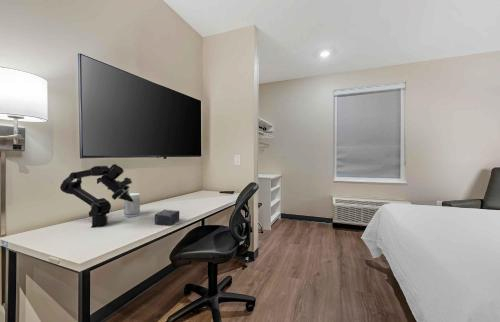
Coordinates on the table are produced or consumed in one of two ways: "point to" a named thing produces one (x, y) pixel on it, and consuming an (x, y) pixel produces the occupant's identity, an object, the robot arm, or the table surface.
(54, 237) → the table surface
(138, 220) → the table surface
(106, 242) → the table surface
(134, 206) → the supplement tub
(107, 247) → the table surface
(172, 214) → the small box
